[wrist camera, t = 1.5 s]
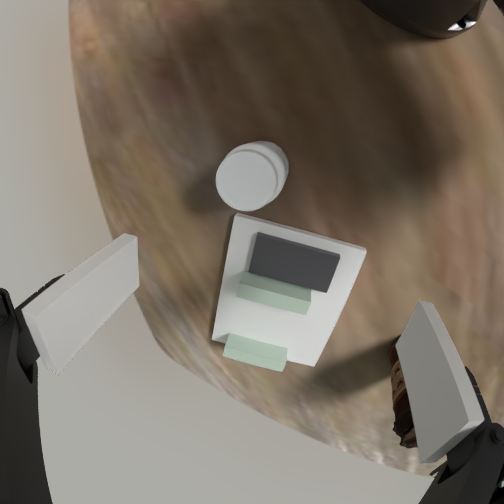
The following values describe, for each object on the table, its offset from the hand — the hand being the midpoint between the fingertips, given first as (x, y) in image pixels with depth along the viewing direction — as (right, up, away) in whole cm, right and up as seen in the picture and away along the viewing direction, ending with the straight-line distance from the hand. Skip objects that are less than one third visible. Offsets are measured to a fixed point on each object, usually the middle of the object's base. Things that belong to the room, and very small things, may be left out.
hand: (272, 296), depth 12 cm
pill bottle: (0, +10, +13) cm, 17 cm away
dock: (+2, -3, +18) cm, 19 cm away
